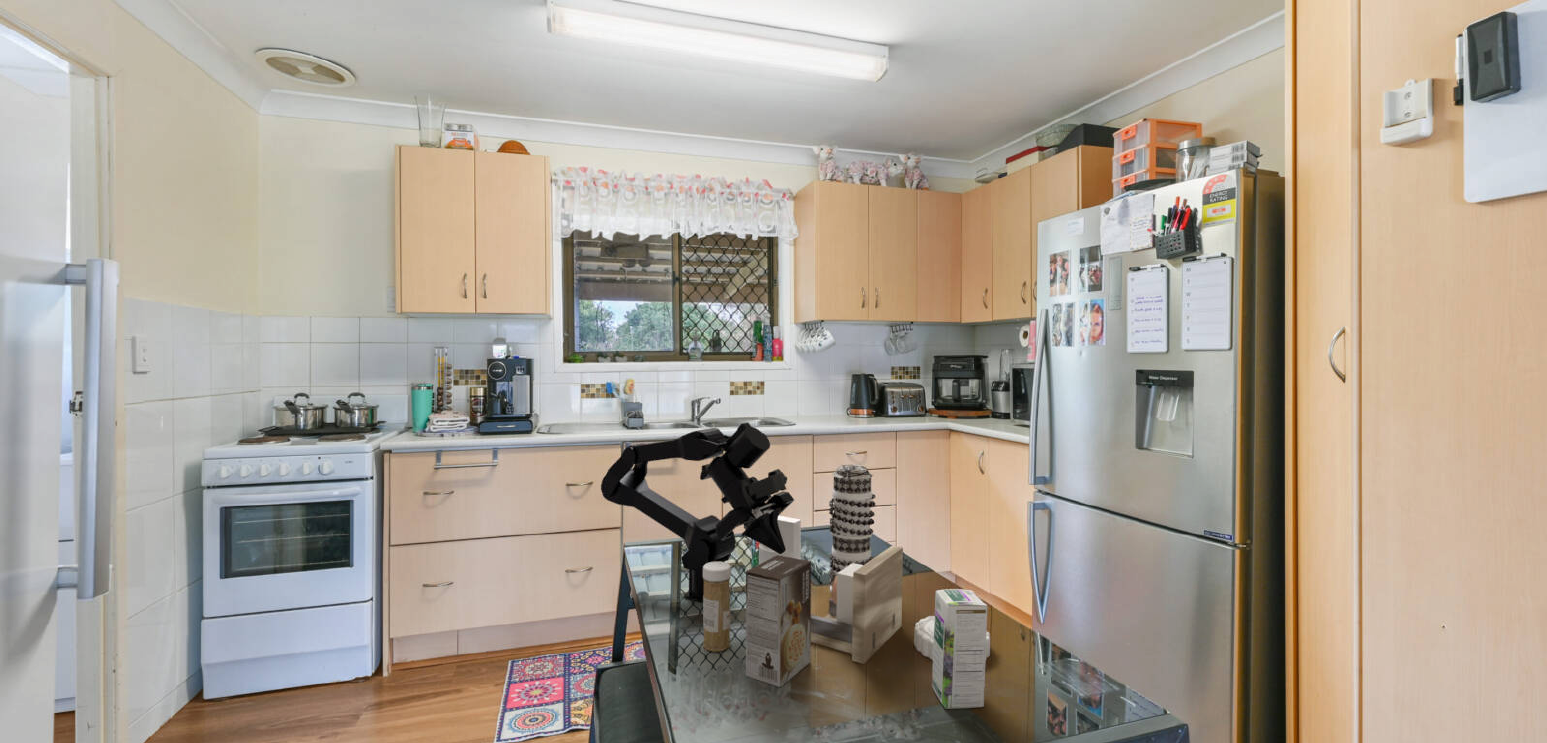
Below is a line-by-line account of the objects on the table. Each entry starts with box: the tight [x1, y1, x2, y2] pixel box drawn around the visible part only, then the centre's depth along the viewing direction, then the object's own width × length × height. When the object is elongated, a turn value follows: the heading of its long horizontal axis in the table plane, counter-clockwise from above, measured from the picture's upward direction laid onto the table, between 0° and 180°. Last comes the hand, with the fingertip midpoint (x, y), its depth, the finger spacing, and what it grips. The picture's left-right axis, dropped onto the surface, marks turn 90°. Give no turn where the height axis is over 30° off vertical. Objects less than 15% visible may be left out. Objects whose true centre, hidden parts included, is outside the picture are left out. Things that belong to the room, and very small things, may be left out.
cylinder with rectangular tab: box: [758, 515, 802, 565], centre depth 139 cm, size 9×9×12 cm
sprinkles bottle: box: [702, 561, 732, 653], centre depth 105 cm, size 5×5×14 cm
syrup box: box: [931, 588, 988, 710], centre depth 91 cm, size 6×6×14 cm
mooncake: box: [913, 615, 991, 661], centre depth 106 cm, size 12×12×4 cm
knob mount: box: [811, 545, 904, 665], centre depth 110 cm, size 12×16×14 cm
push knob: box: [831, 563, 863, 625], centre depth 110 cm, size 6×6×10 cm
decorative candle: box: [828, 464, 876, 594], centre depth 129 cm, size 9×9×25 cm
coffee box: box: [745, 555, 812, 688], centre depth 98 cm, size 9×6×16 cm
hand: (783, 552), depth 117 cm, fingers closed
